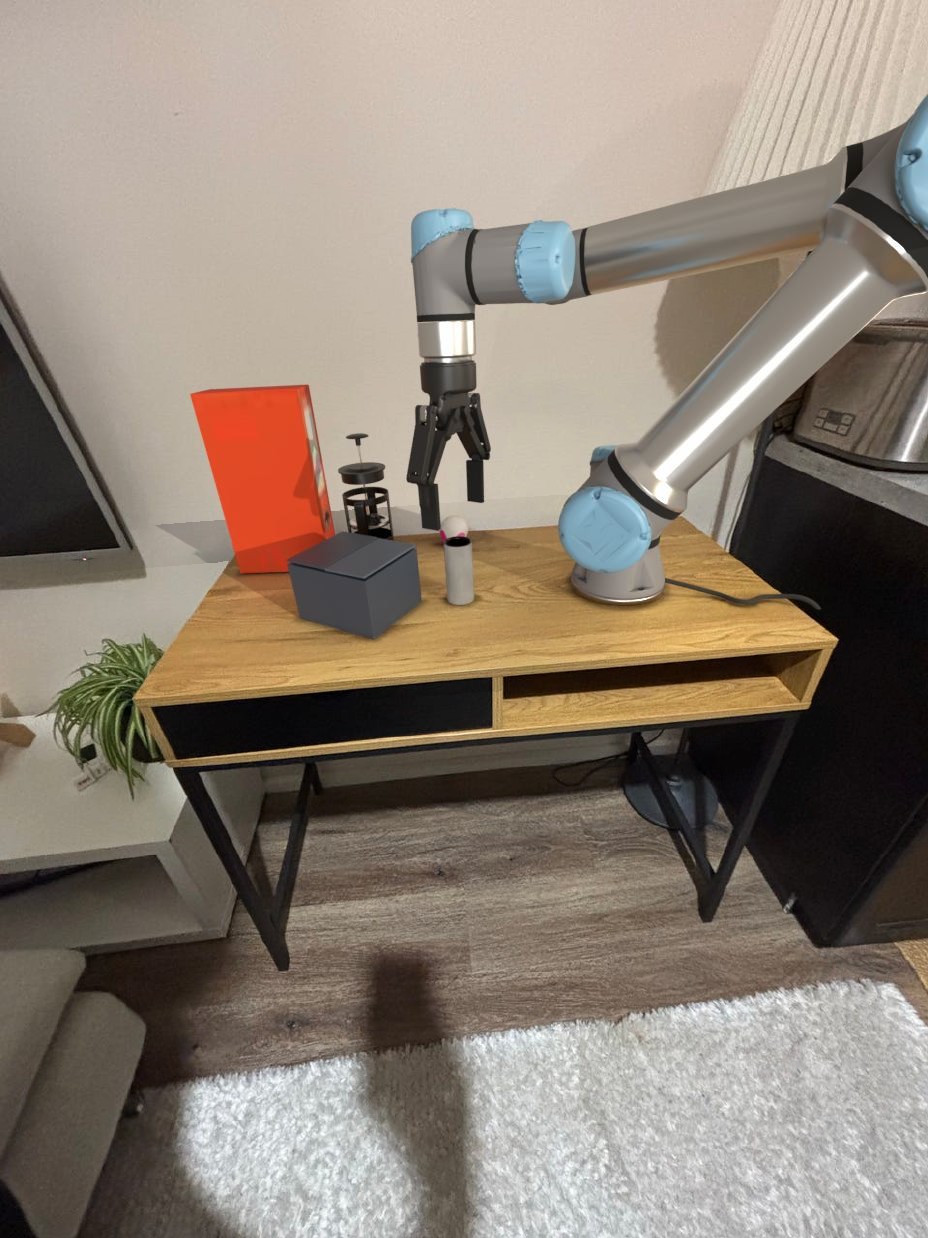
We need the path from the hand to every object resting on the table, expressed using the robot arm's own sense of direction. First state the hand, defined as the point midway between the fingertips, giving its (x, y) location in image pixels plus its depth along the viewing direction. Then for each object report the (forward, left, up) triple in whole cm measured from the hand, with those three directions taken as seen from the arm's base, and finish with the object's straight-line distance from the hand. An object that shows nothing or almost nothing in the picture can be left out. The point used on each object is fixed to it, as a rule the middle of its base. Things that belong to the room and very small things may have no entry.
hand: (455, 514), depth 79 cm
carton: (+13, +10, -15) cm, 22 cm away
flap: (+9, +10, -5) cm, 14 cm away
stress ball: (+14, -21, -15) cm, 29 cm away
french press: (+27, -11, -15) cm, 33 cm away
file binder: (+38, +1, -15) cm, 41 cm away
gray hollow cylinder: (0, 0, -15) cm, 15 cm away
